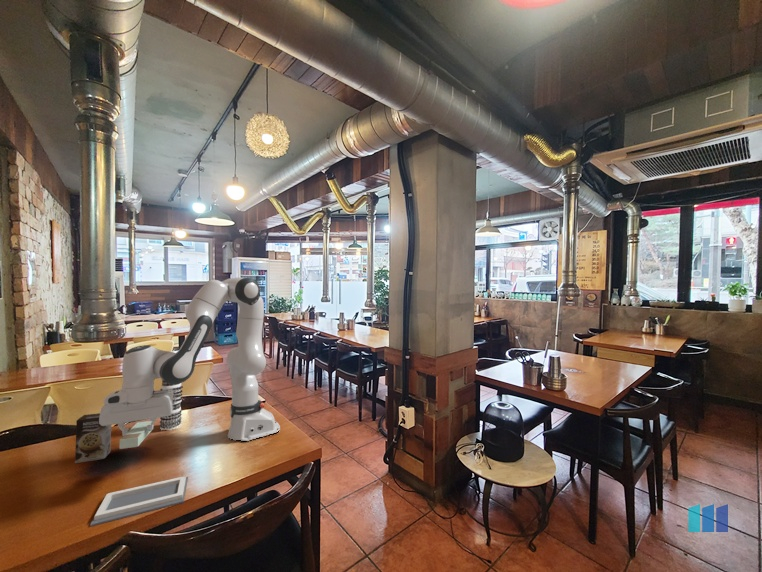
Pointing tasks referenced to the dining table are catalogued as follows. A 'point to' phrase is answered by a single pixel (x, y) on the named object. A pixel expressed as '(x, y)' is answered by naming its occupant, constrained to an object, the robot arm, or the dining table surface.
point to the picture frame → (141, 500)
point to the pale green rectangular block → (135, 435)
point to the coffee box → (91, 439)
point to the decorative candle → (175, 416)
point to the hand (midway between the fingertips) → (137, 432)
